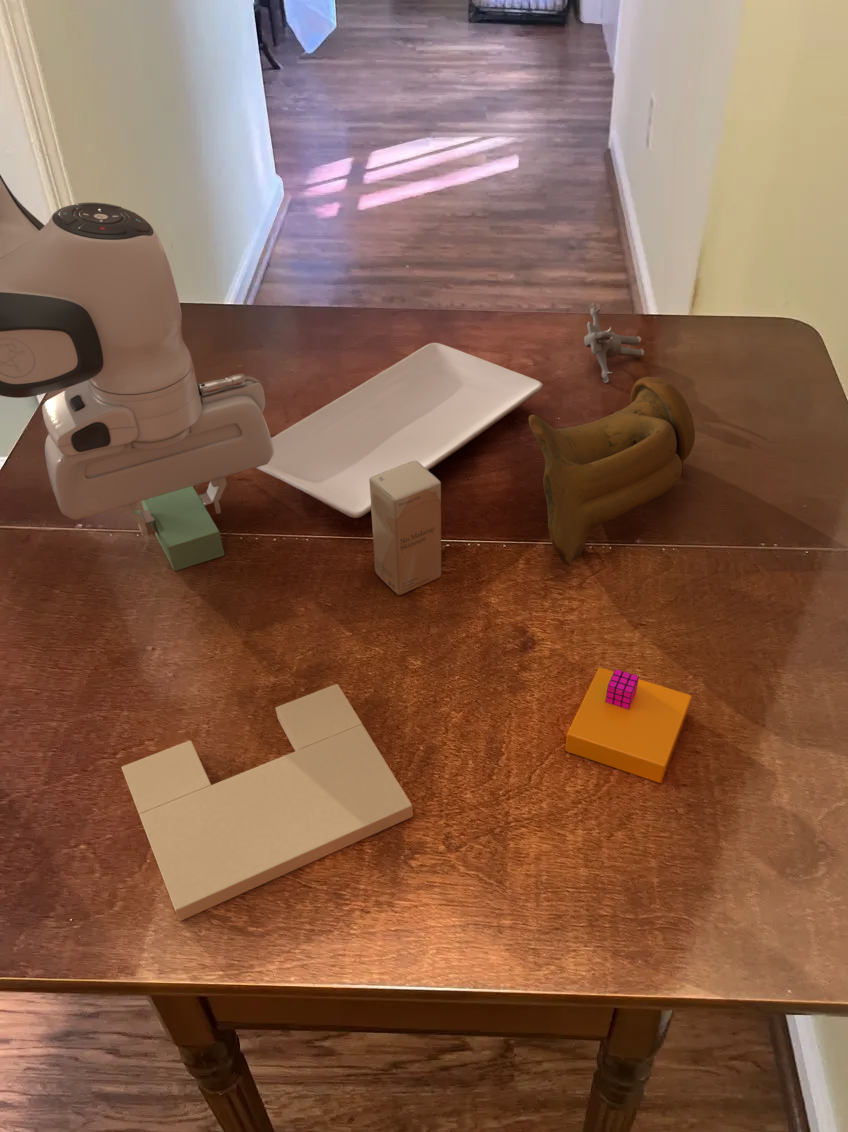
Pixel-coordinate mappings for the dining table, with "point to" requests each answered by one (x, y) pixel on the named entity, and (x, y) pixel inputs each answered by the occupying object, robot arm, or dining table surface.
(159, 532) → the pad
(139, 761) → the beige notched block
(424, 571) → the box
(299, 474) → the tray
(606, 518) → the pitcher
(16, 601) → the dining table surface
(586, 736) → the orange square pedestal
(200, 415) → the robot arm
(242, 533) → the dining table surface
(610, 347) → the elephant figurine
